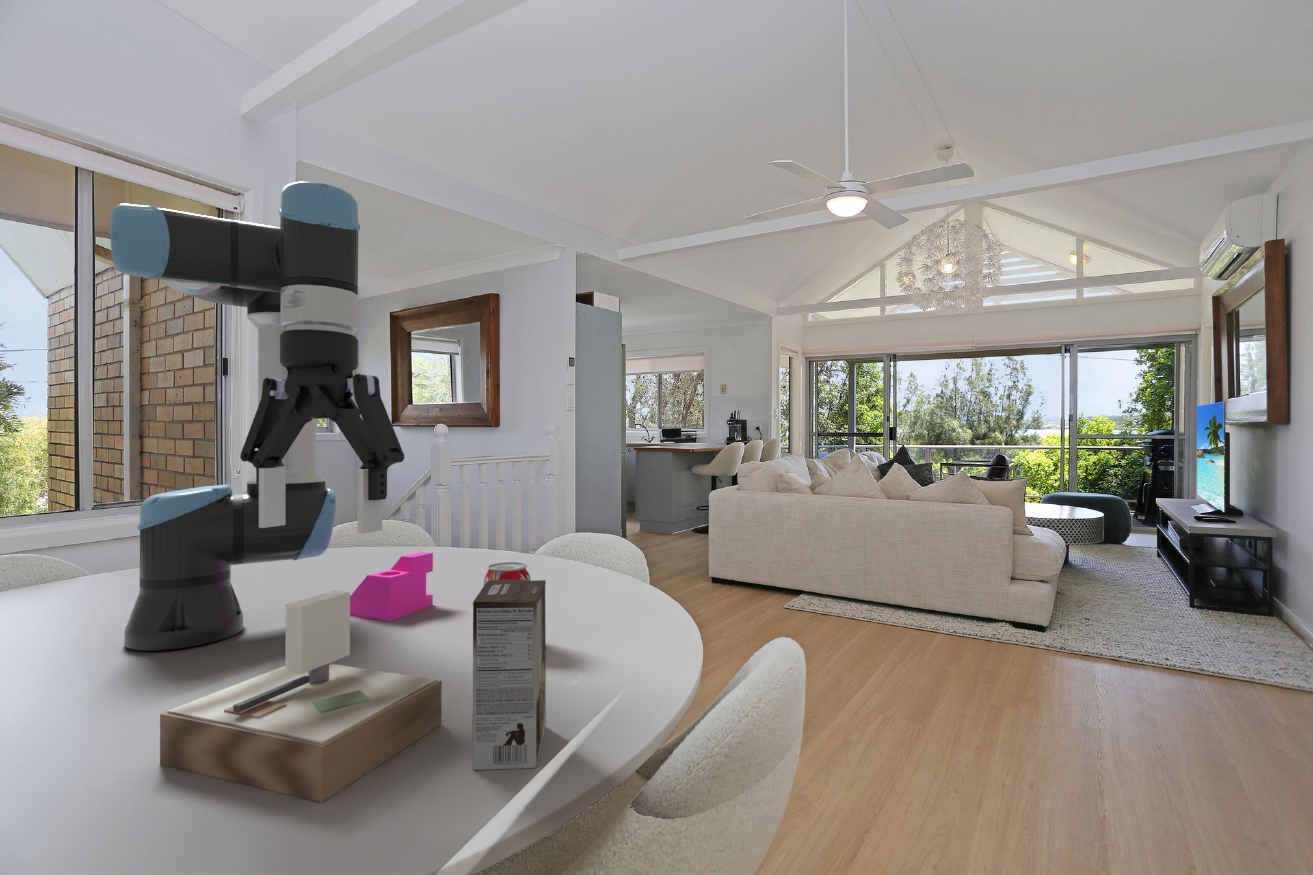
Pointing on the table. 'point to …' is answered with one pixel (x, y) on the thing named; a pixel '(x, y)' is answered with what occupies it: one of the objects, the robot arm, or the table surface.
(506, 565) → the soda can
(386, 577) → the bracket
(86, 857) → the table surface
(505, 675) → the coffee box
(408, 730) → the switch box
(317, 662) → the switch lever
